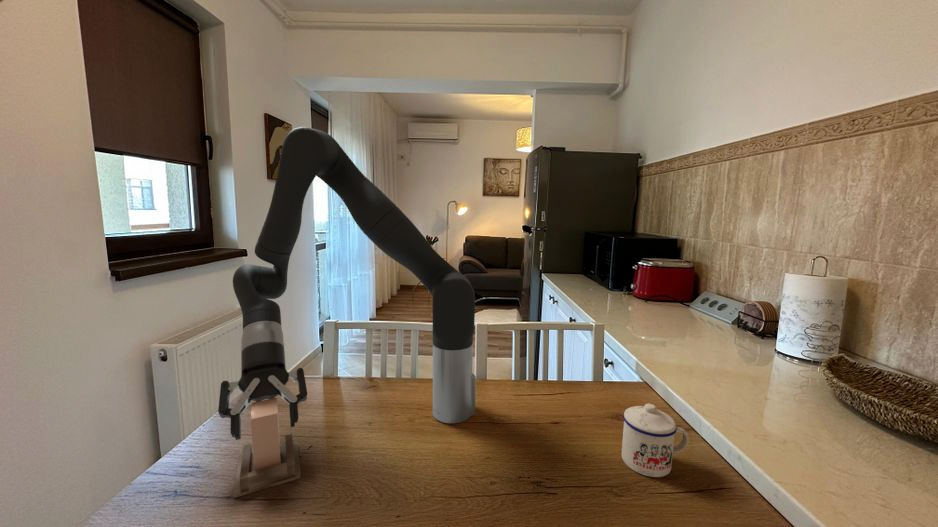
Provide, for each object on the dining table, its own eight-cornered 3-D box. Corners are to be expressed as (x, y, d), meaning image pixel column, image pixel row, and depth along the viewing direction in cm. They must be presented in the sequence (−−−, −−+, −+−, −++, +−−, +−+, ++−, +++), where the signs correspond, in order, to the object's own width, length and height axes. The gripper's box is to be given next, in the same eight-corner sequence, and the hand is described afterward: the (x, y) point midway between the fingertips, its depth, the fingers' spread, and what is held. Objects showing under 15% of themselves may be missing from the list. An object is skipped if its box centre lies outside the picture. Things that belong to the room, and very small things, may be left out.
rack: (297, 446, 74) (296, 432, 73) (301, 477, 65) (300, 462, 65) (239, 461, 69) (238, 446, 69) (234, 497, 60) (233, 481, 60)
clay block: (280, 451, 70) (276, 397, 69) (281, 470, 65) (277, 413, 64) (256, 457, 69) (252, 402, 67) (255, 478, 63) (250, 419, 62)
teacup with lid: (630, 478, 66) (635, 418, 64) (613, 446, 75) (617, 392, 73) (698, 481, 65) (705, 420, 64) (673, 448, 74) (678, 395, 73)
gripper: (217, 346, 68) (214, 437, 59) (302, 335, 74) (310, 415, 66) (223, 363, 73) (221, 448, 65) (301, 351, 80) (309, 427, 71)
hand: (266, 431), depth 65 cm, fingers open, 8 cm apart
